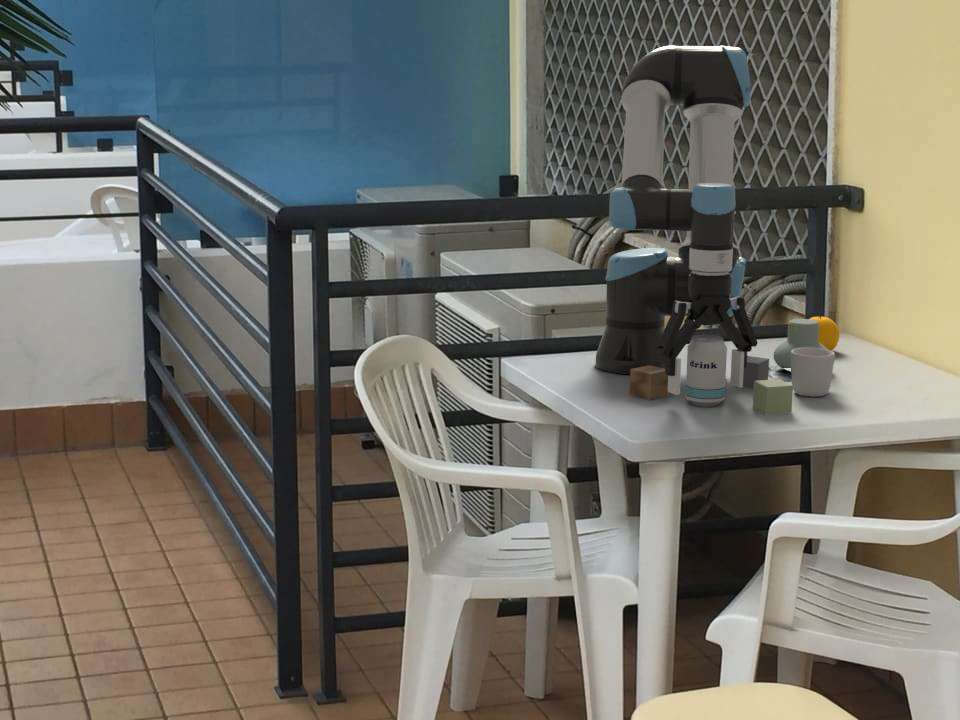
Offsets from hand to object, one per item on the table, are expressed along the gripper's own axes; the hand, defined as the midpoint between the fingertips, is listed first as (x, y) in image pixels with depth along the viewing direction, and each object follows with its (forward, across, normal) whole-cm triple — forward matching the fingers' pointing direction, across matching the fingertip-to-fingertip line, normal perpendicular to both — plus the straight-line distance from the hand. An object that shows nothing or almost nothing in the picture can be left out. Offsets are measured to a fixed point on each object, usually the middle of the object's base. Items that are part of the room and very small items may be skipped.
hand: (705, 389), depth 263 cm
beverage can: (+3, 0, 0) cm, 3 cm away
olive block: (+3, +8, -9) cm, 12 cm away
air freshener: (+3, +32, +13) cm, 35 cm away
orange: (+2, +47, +26) cm, 54 cm away
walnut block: (+3, -6, +9) cm, 11 cm away
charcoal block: (+2, +16, +8) cm, 18 cm away
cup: (+3, +23, -2) cm, 23 cm away
